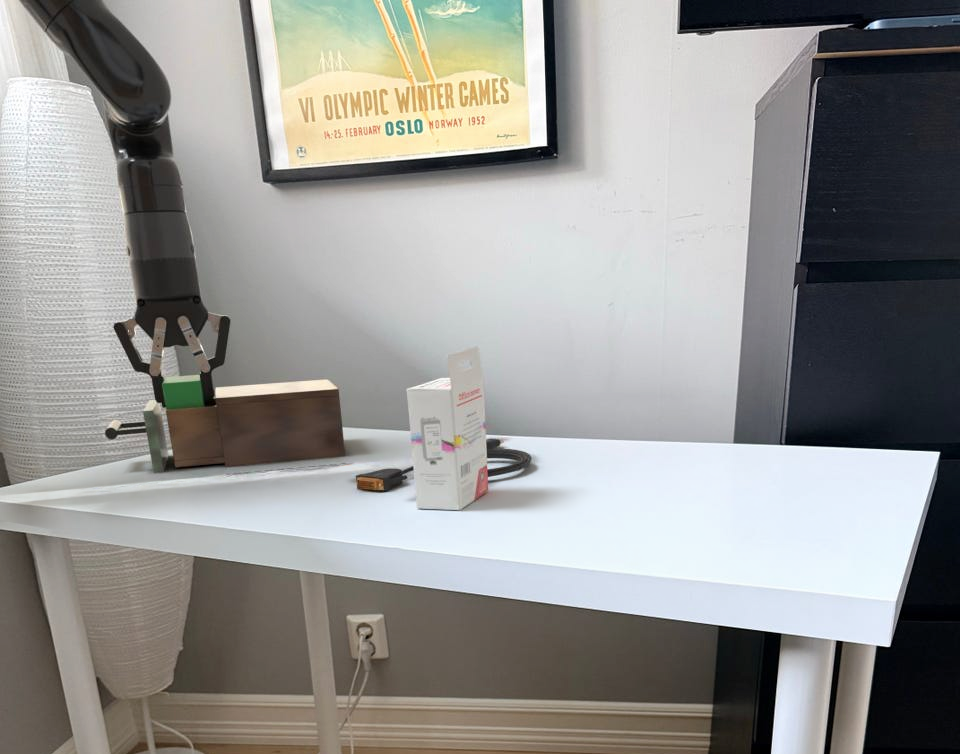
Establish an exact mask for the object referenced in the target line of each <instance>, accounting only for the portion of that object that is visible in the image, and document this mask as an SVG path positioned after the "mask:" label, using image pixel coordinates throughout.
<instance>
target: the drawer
mask: <svg viewBox="0 0 960 754" xmlns="http://www.w3.org/2000/svg"><path fill="white" fill-rule="evenodd" d="M142 414H143V415H142V416H143V421H142V420H140V421H129V422H127V421H126V422H122V421H120V420H119V419H113V420H112V421H111V423H110V424H109V425H108V426H107V428H106V429H105V430H104V435H105V437H106V438H107V439H108V440H115V439H116V438H117V437H118V436H124V435H138V434H146V438H147V443H148V448H149V454H150V460H151V465H152V471H153V474H156V473H164V472H165V470H166V466H167V463H168V459H169V456H170V455H169V450H168V444H167V438H166V432H165V426H164V421H163V414H162V409H161V403H157V402H156V400H155V399H149V401H148V402H147V404H146V405H145V407H144V408H143V410H142ZM165 415H166V420H167V421H166V422H167V427H168V433H169V438H170V445H171V451H172V457H173V461H174V462H173V463H174V467H175V468H185V467H196V466H207V465H218V464H225V461H224V454H223V447H222V441H221V434H220V427H219V420H218V413H217V407H216V400H215V396H214V398H213V399H210V404H205V407H194V408H181V409H168V410H166V409H165Z"/></svg>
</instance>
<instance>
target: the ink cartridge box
mask: <svg viewBox="0 0 960 754" xmlns="http://www.w3.org/2000/svg"><path fill="white" fill-rule="evenodd" d="M480 353H481V352H480V348H479V347H478V346H477V345H476V346H474V347H471V348H470V347H468V348H464V349H461V350H457V351H454V352H450V353H448V354H447V355H446V362H447V369H448V375H449V377H440V378H437V379H434V380H431V381H427V382H424V383H422V384H418V385H415V386H412V387H408V388H406V389H405V391H406V399H407V410H408V416H409V417H408V420H409V421H408V422H409V433H410V443H411V454H412V466H413V467H414V470H413V478H414V490H415V500H416V509H425V510H445V511H446V510H447V511H461V510H462V509H464V508H466V507H467V506H468V505H470V504H471V503H472V502H474V501H476V500H477V499H479V498H480V497H482V496H483V495H484V494H486V493H487V492H488V491H489V479H488V478H489V477H488V472H487V469H488V458H487V448H486V439H487V429H486V412H485V410H486V409H485V387H484V384H485V383H484V377H483V376H484V375H483V369H482V362H481V361H482V360H481V354H480ZM464 361H465V362H466V363H467V362H468V363H469V367H467V368H464V369H461V364H463V363H464Z"/></svg>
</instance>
